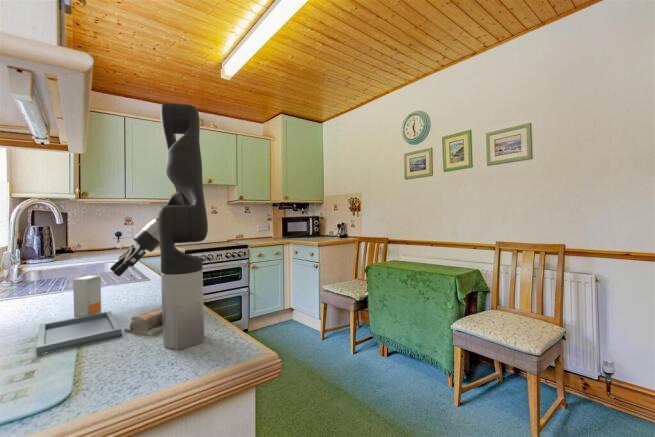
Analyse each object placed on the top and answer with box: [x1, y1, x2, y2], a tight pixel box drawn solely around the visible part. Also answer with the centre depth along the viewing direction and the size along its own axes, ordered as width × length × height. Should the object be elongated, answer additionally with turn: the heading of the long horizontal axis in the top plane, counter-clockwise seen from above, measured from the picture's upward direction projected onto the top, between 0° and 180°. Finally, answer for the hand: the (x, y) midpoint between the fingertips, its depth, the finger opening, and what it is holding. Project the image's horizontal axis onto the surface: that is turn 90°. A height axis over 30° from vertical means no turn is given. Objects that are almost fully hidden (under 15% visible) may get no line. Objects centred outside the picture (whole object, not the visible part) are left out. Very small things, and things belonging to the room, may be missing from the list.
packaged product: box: [123, 306, 163, 337], centre depth 90 cm, size 18×5×10 cm
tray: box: [36, 310, 122, 356], centre depth 83 cm, size 20×16×2 cm
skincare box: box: [72, 275, 102, 318], centre depth 97 cm, size 6×4×12 cm
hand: (114, 272), depth 102 cm, fingers open, 8 cm apart
